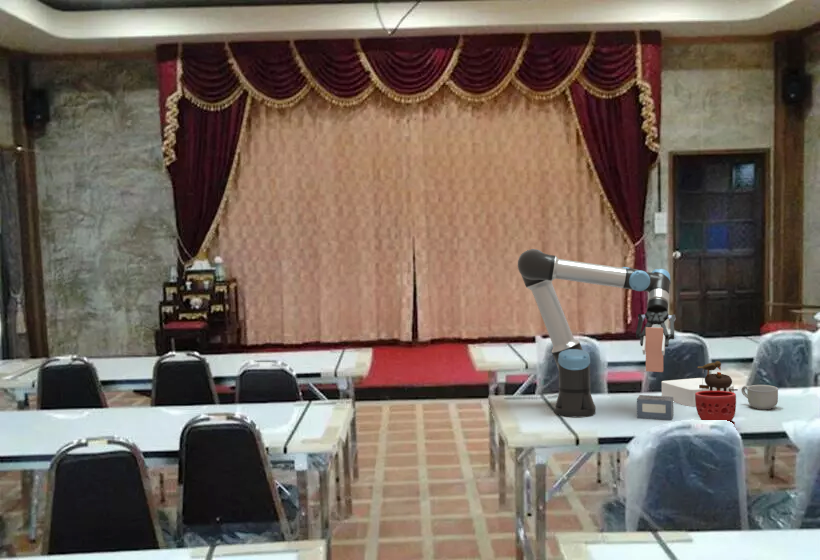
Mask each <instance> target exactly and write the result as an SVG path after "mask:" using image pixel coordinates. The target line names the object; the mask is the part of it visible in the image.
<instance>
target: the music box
mask: <svg viewBox="0 0 820 560" xmlns="http://www.w3.org/2000/svg"><path fill="white" fill-rule="evenodd" d="M696 367H697V369H702V373H704V371H705V370H706V371H707V374H706V376H705V377H704V378H705V383H706V384H707V385H703V382H702V385H699V388H702V391H703V389H709V387H710V391H713V388H717V391H720V389H721V388H724V391H726V389H727V388H728V387H730V386H731V385H733V379H732V378H731V377H730V375H728V374H725V373H724V374H722V372H721V371H722V370H721V367H722V363H721V361H718V360H716V361H715V362H709V363H706V364H704V365H703V366H701V365H700V366H696ZM717 368H718V369H719V371H716V373H710V371H714V370H717ZM731 390H732V391H734V392H735V391H738V390H739V389H737V388H734V389H730V388H729V392H731ZM715 405H717V404H715ZM702 406H703V404H702ZM706 407H707V406H706Z"/></svg>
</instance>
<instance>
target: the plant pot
mask: <svg viewBox="0 0 820 560" xmlns="http://www.w3.org/2000/svg"><path fill="white" fill-rule="evenodd" d="M695 402H696V407H695V408H696V412H697V415H698V417H699V420H727V421H730V422H732V423H733V424H734V426H735V425H736V422H735V421H734V417H735V414H736V405H737V394H736V393H735V392H734V393H733V392H728V391H700V392H696V393H695ZM702 404H703V406H702ZM715 404H717V405H715ZM706 406H707V407H706Z"/></svg>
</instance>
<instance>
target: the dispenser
mask: <svg viewBox="0 0 820 560" xmlns="http://www.w3.org/2000/svg"><path fill="white" fill-rule="evenodd" d="M674 415H675V414H674V402H673V397H668V396H662V395H645V394H642V395H641V394H639V395H638V397H637V398H636V418H637V419H643V420H644V419H645V420H659V421H660V420H661V421H672V420H673V418H674Z"/></svg>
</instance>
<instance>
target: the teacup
mask: <svg viewBox="0 0 820 560" xmlns="http://www.w3.org/2000/svg"><path fill="white" fill-rule="evenodd" d="M746 389H747V390H746ZM746 391H747V392H746ZM740 392H741V394H742V395H743V396H744V397H745V398H746V399H747V402H748V404H749V405H750V406H751V407H752V408H754V409H756V408H757V409H756V410H761V409H768V410H772V409H773V408H774V407H776V406H777V405H778V403H779V400H778V399H779V388H778V387H777V386H774V385H769V384H753V385H743V386H742V387H741V391H740ZM771 408H772V409H771Z"/></svg>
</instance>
